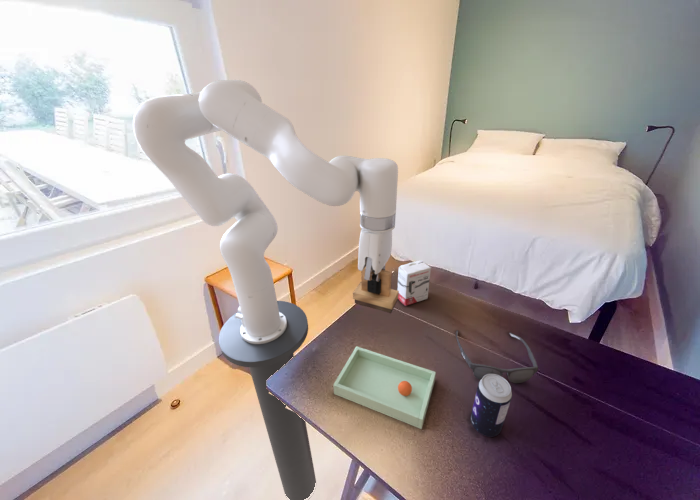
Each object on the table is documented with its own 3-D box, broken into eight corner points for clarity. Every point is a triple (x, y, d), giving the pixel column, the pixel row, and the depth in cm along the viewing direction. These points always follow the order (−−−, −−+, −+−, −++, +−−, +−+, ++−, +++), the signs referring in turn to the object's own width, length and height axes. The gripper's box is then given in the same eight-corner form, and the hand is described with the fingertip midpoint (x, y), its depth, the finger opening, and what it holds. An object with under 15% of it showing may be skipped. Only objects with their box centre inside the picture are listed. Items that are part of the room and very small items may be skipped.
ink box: (405, 306, 95) (406, 274, 89) (396, 298, 99) (397, 266, 93) (428, 298, 98) (431, 266, 92) (419, 290, 101) (422, 259, 96)
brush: (352, 303, 77) (352, 271, 72) (360, 292, 81) (360, 260, 76) (391, 314, 73) (393, 280, 69) (398, 302, 77) (400, 269, 73)
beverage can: (490, 409, 65) (501, 369, 59) (506, 436, 60) (520, 395, 54) (464, 414, 64) (473, 374, 58) (479, 442, 59) (490, 401, 53)
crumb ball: (395, 396, 68) (396, 386, 66) (400, 385, 70) (400, 376, 69) (409, 401, 67) (410, 391, 65) (413, 389, 69) (414, 380, 67)
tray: (334, 394, 69) (333, 384, 68) (356, 354, 79) (356, 346, 78) (421, 429, 62) (422, 419, 60) (434, 381, 71) (436, 371, 70)
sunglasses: (464, 384, 70) (467, 366, 68) (450, 336, 86) (452, 321, 84) (542, 388, 68) (547, 371, 66) (514, 339, 84) (517, 323, 82)
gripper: (374, 204, 74) (372, 270, 83) (345, 231, 61) (347, 305, 70) (405, 209, 71) (400, 276, 80) (381, 237, 59) (379, 313, 68)
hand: (375, 289), depth 75 cm, fingers closed on brush
